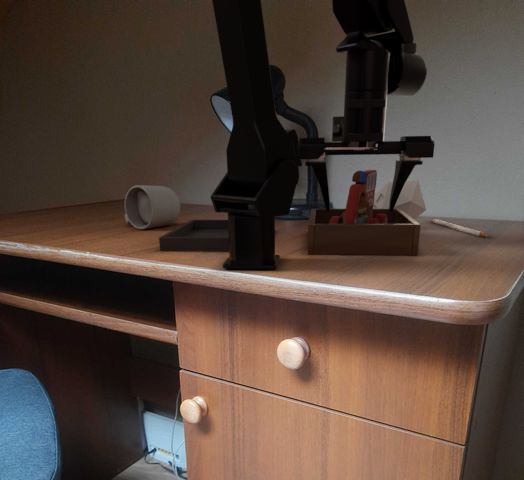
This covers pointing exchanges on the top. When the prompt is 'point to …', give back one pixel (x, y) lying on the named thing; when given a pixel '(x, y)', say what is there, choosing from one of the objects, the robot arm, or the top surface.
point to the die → (402, 198)
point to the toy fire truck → (361, 201)
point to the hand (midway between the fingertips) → (359, 211)
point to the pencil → (459, 227)
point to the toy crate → (363, 234)
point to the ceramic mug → (151, 206)
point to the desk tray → (197, 236)
